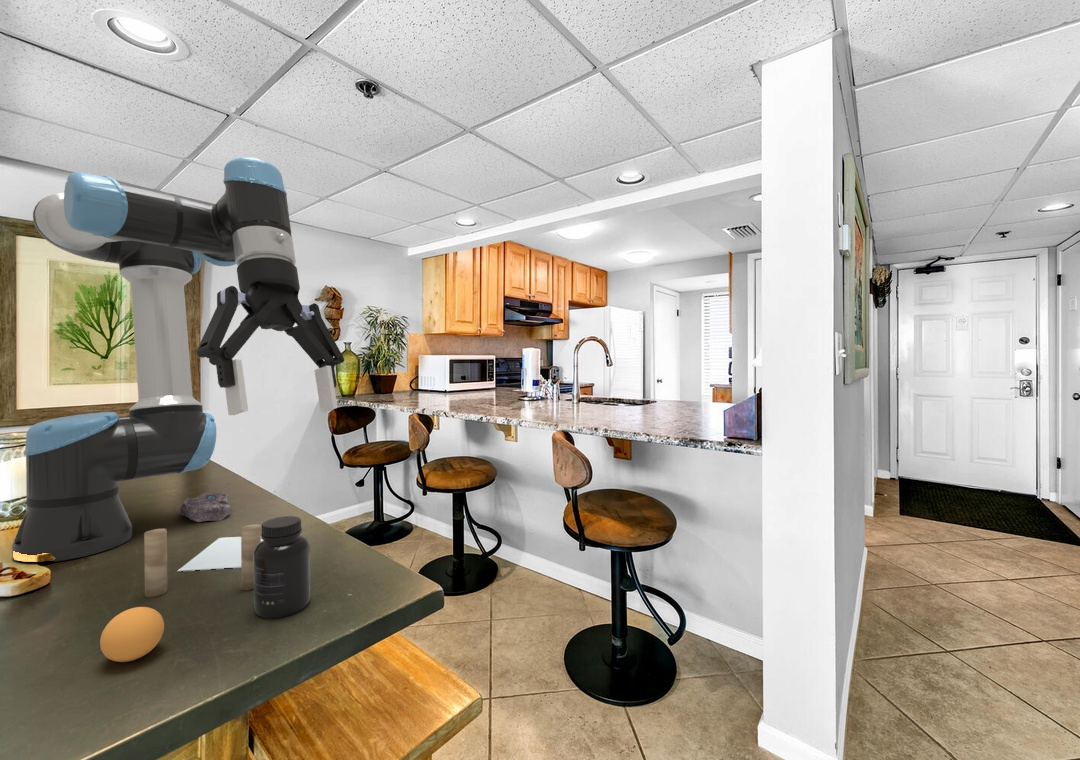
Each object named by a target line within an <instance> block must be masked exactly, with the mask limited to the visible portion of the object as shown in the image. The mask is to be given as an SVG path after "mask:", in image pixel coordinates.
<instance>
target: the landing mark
mask: <svg viewBox="0 0 1080 760" xmlns="http://www.w3.org/2000/svg"><path fill="white" fill-rule="evenodd" d="M262 541H263V540H262V539H261V542H262ZM224 568H233V569H241V536H230V537H226V536H225V537H218V538H217V539H216V540H214V542H212V543H211V544H209V545H208V546H207V547H206V548H204V549H203V550H202V551H200V553H198V554H197V555H195V557H193V558H191V559H190V560H189V561H187V563H185V564H184V565H183V566H182V567H180V568H179V569H178V570H177V572H178V573H181V571H183V572H195V570H200V571H211V569H216V570H225V569H224Z"/></svg>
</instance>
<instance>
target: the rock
mask: <svg viewBox="0 0 1080 760" xmlns="http://www.w3.org/2000/svg"><path fill="white" fill-rule="evenodd" d="M231 511H232V508H231V504H229V494H228V493H226V492H222V491H220V492H218V491H214V492H211V491H208V492H207V491H206V492H203V493H202V494H200V495H198V496H196V497H187V498H186V499H185V500H184V501H183V503H181V506H180V509H179V512H178V514H179V515H180V516H182V517H186V518H188V519H189V520H190V521H193V522H195V523H201V522H206V521H208V522H209V521H210V522H220V521H222V520H224V519H225V518H226V517H228V516H229V515H230V513H231Z"/></svg>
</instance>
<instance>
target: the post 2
mask: <svg viewBox="0 0 1080 760" xmlns="http://www.w3.org/2000/svg"><path fill="white" fill-rule="evenodd" d="M261 534H262V524H248V525H245V526H242V527H241V529H240V535H241V536H240V537H241V568H240V570H241V571H240V572H241V577H240V578H241V580H240V581H241V585H240V586H241V588H240V589H241V590H242V591H254V563H253V553H254V550H255V548H256V546H257V545H258V544H259V543H260V542H261Z"/></svg>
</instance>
